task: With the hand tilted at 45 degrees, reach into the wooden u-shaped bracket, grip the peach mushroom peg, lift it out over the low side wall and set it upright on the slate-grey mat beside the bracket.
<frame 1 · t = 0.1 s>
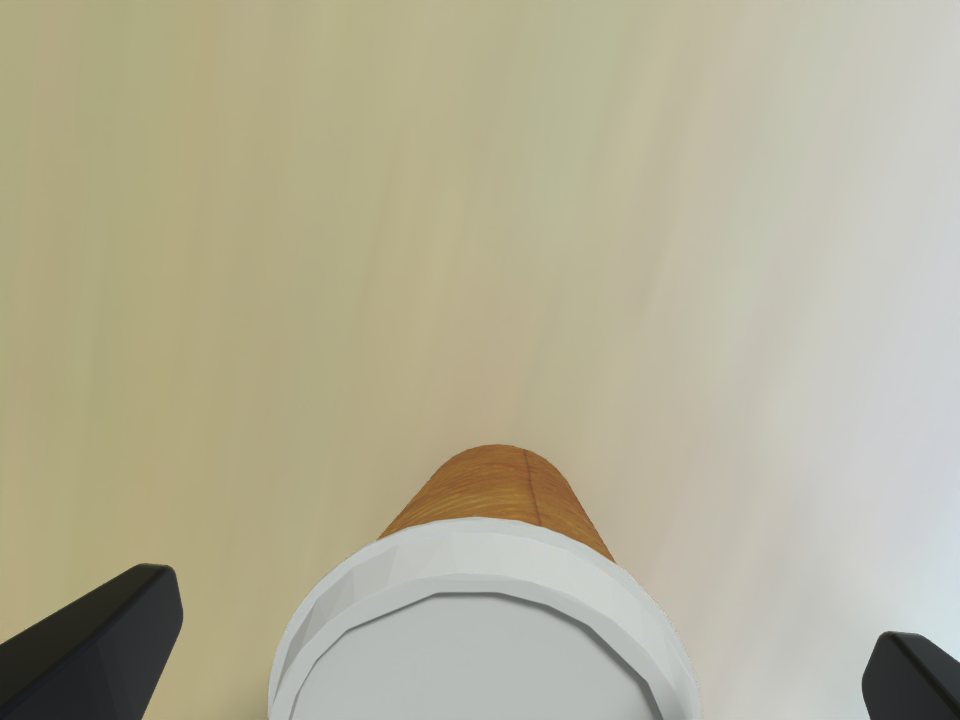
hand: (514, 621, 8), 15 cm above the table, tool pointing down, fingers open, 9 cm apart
disposable coffee cup: (498, 519, 24), on the table
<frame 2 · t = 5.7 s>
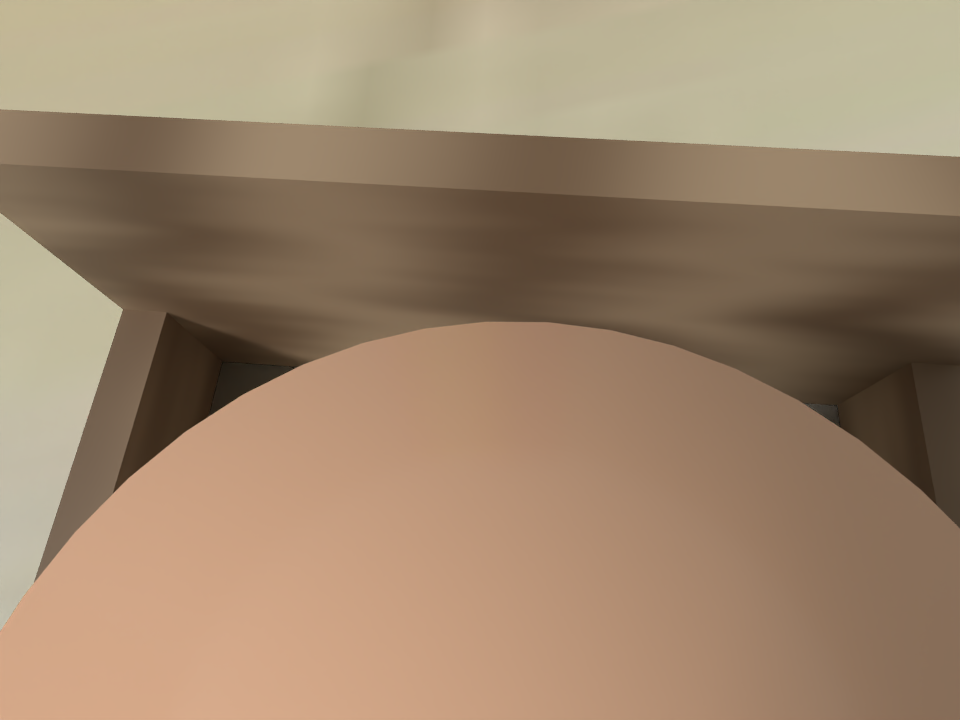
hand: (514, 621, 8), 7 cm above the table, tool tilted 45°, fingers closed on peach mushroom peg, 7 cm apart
wooden u-shaped bracket: (502, 683, 14), on the table
peach mushroom peg: (502, 682, 14), on the table, touching gripper
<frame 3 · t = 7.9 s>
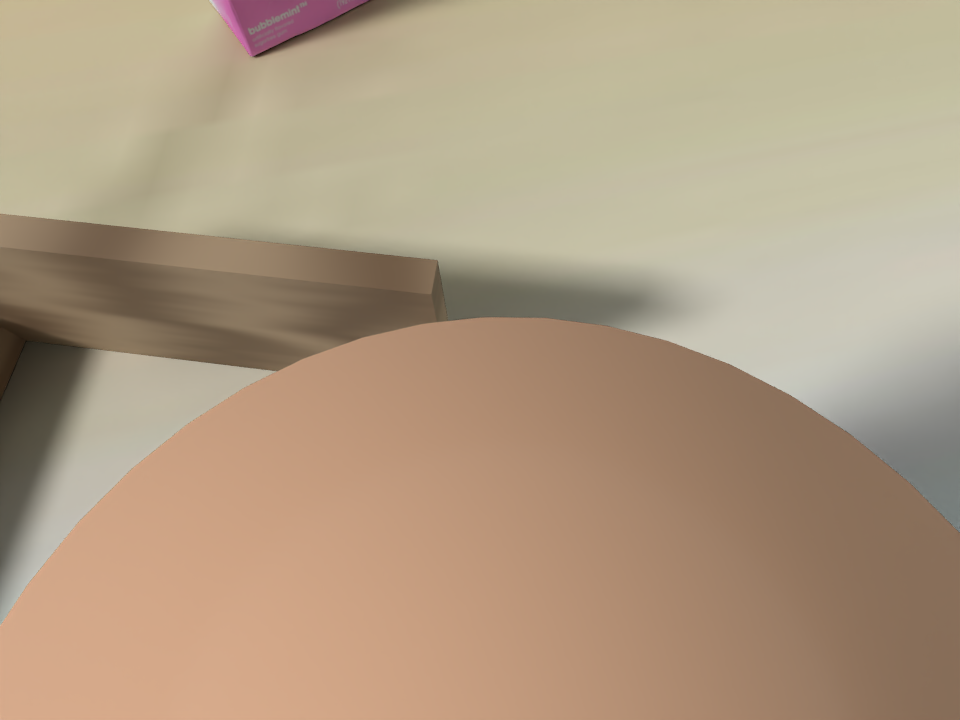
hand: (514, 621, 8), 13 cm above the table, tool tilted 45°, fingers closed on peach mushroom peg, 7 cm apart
wooden u-shaped bracket: (163, 552, 21), on the table
peach mushroom peg: (498, 680, 14), point 7 cm above the table, touching gripper
when the fingers open (9 cm above the table, at t = 10.1 s): peach mushroom peg drops 1 cm, resting on slate mat.
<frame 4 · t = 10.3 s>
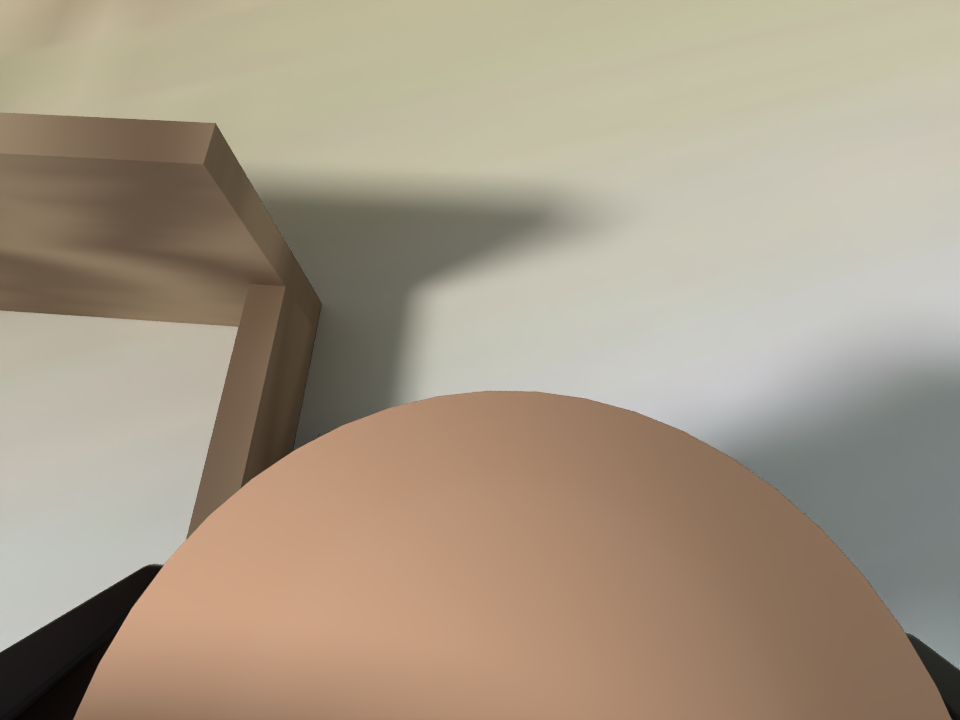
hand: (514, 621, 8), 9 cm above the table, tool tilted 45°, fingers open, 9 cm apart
peach mushroom peg: (497, 677, 15), point 1 cm above the table, touching slate mat
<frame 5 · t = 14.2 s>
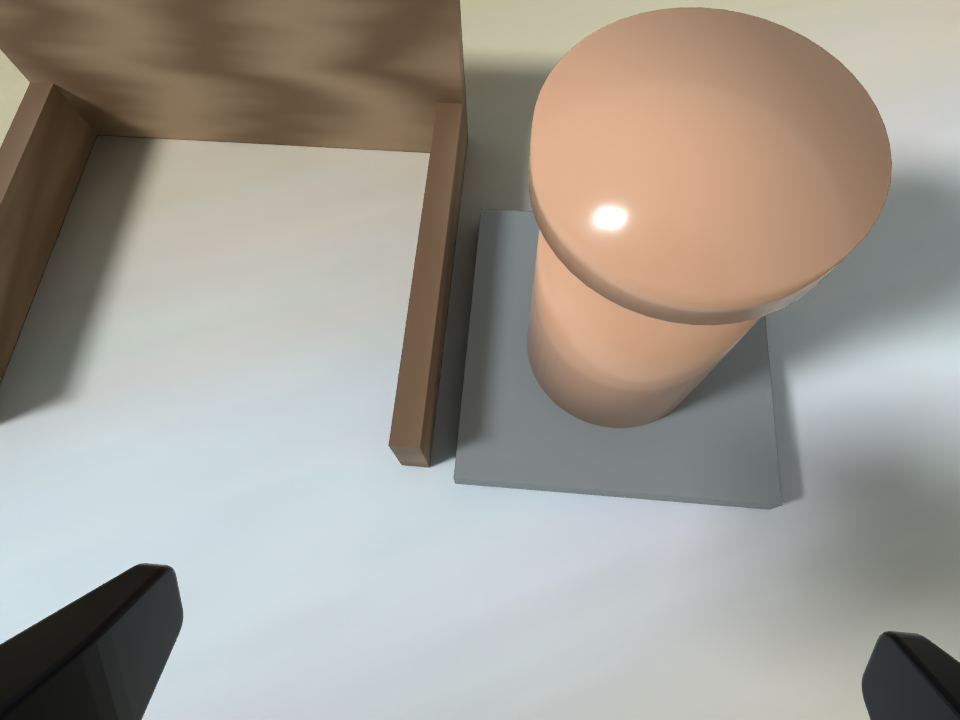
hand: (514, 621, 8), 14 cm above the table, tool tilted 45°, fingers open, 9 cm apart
wooden u-shaped bracket: (231, 280, 25), on the table
peach mushroom peg: (613, 344, 23), point 1 cm above the table, touching slate mat
slate mat: (611, 352, 24), on the table
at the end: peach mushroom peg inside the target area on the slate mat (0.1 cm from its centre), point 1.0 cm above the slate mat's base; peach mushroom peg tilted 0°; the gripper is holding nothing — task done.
